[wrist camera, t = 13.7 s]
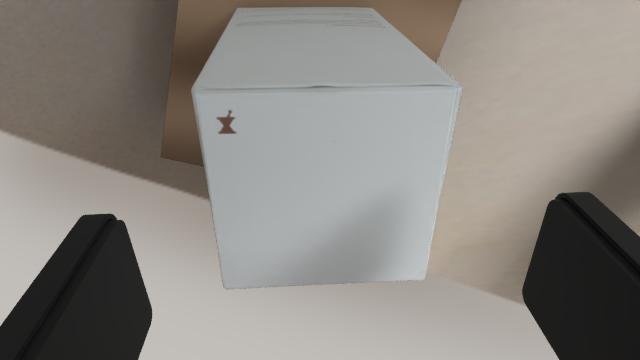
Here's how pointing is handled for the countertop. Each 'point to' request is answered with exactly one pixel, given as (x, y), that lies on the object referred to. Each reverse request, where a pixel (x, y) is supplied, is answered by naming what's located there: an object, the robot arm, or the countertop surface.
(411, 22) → the walnut block
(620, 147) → the countertop surface
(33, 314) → the robot arm
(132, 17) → the countertop surface
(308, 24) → the supplement box
